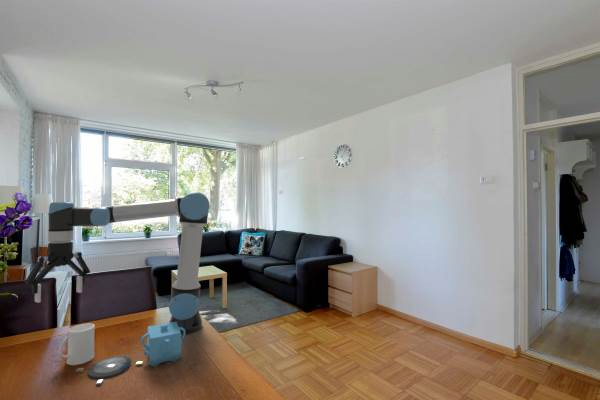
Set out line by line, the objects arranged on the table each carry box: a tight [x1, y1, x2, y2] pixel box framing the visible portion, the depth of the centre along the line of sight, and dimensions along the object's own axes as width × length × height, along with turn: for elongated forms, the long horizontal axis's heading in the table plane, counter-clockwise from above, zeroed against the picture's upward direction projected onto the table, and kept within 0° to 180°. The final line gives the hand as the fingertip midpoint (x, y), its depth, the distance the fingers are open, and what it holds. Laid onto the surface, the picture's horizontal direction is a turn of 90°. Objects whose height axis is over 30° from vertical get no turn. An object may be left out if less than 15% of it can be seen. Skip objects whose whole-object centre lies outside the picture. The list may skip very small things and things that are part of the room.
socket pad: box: [75, 355, 144, 386], centre depth 104 cm, size 21×17×1 cm
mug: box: [58, 322, 95, 366], centre depth 111 cm, size 12×8×12 cm
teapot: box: [140, 322, 186, 367], centre depth 111 cm, size 18×16×13 cm
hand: (59, 296), depth 114 cm, fingers open, 13 cm apart
